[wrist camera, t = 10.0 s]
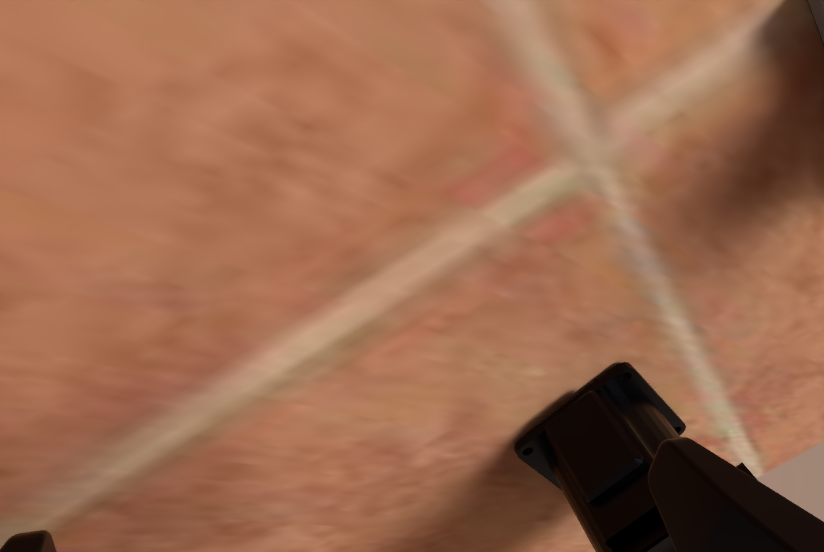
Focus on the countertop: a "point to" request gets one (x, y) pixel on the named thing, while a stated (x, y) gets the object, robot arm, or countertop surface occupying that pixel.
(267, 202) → the countertop surface
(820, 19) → the gray square block
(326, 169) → the countertop surface
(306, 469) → the countertop surface
